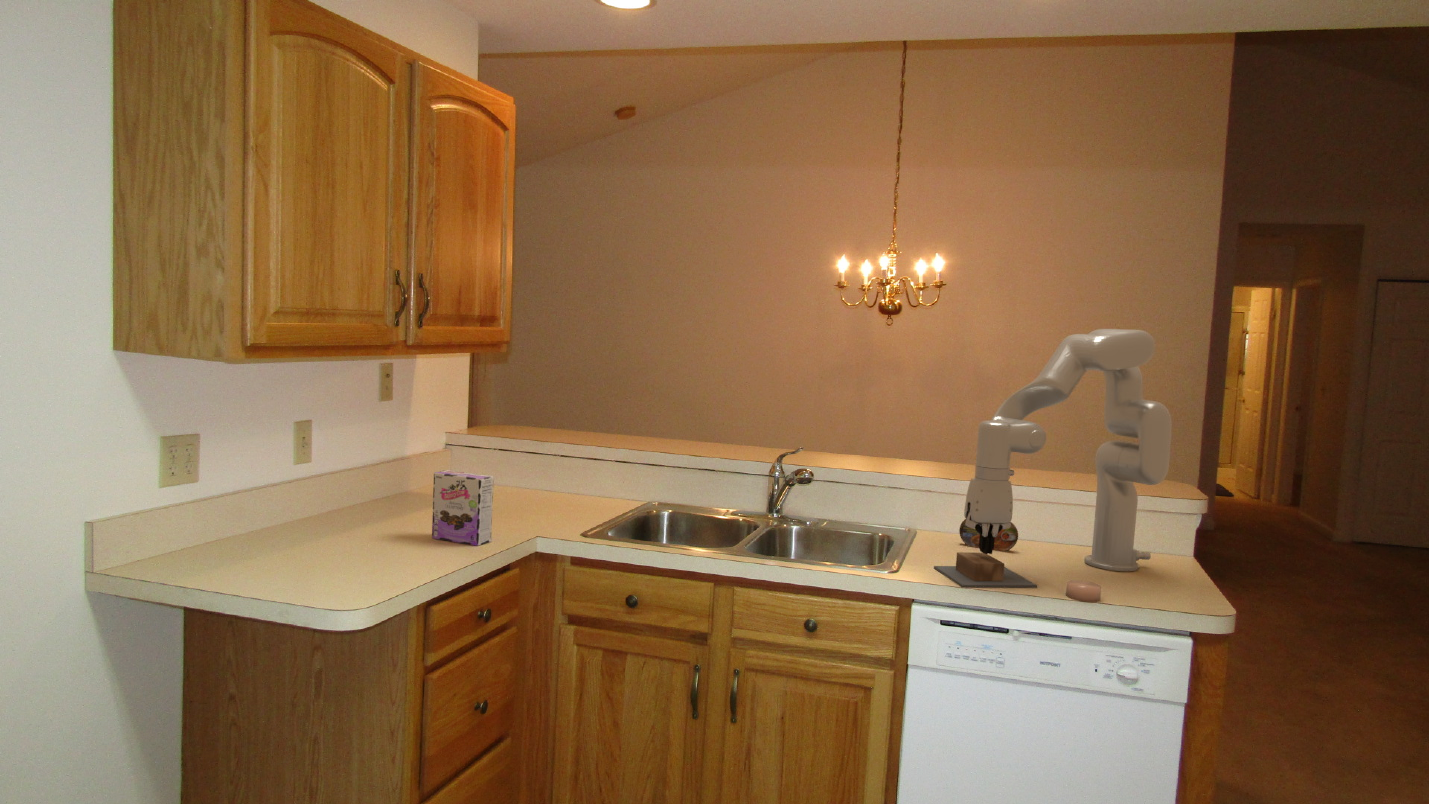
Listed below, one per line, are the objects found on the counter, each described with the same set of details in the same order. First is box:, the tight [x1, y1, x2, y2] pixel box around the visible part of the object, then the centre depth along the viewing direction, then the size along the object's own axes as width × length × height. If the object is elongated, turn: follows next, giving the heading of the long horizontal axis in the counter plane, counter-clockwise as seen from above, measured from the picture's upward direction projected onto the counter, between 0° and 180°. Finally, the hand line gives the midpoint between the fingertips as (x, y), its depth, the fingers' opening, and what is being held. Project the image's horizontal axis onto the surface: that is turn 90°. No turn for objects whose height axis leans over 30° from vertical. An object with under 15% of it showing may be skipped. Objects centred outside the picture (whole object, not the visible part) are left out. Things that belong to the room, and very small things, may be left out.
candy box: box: [431, 469, 495, 547], centre depth 225 cm, size 14×6×16 cm, turn 68°
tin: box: [958, 518, 1019, 552], centre depth 246 cm, size 15×3×8 cm, turn 62°
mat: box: [933, 565, 1038, 589], centre depth 215 cm, size 18×16×1 cm
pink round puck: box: [1065, 579, 1102, 603], centre depth 203 cm, size 7×7×3 cm
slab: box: [955, 552, 1005, 581], centre depth 215 cm, size 4×10×7 cm
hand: (985, 552), depth 215 cm, fingers closed
